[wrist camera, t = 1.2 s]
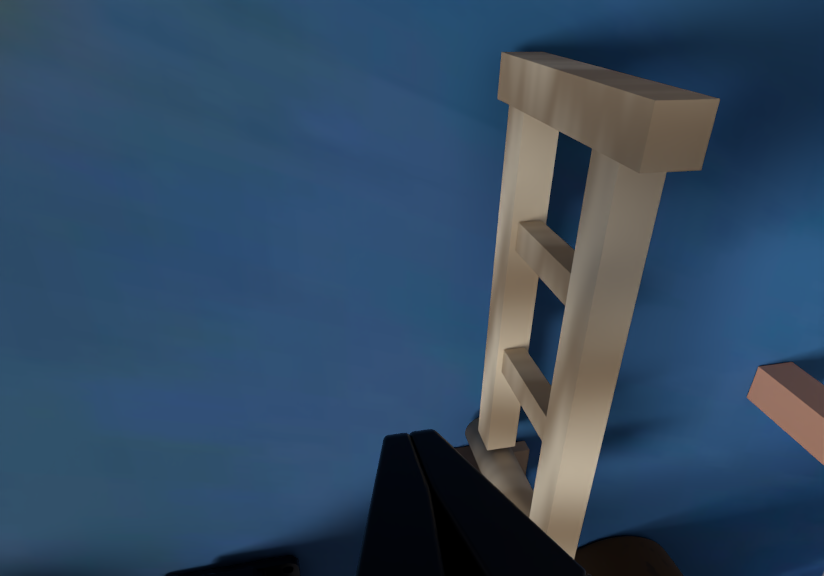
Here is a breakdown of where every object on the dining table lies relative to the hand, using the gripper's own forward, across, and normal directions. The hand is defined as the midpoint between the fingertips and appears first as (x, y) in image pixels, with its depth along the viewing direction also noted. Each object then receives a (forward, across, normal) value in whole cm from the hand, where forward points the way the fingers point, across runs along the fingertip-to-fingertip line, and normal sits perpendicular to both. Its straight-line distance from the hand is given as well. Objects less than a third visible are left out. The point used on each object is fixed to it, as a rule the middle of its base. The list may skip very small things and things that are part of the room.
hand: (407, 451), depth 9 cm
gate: (+11, -6, +3) cm, 13 cm away
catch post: (+12, -22, +11) cm, 27 cm away
